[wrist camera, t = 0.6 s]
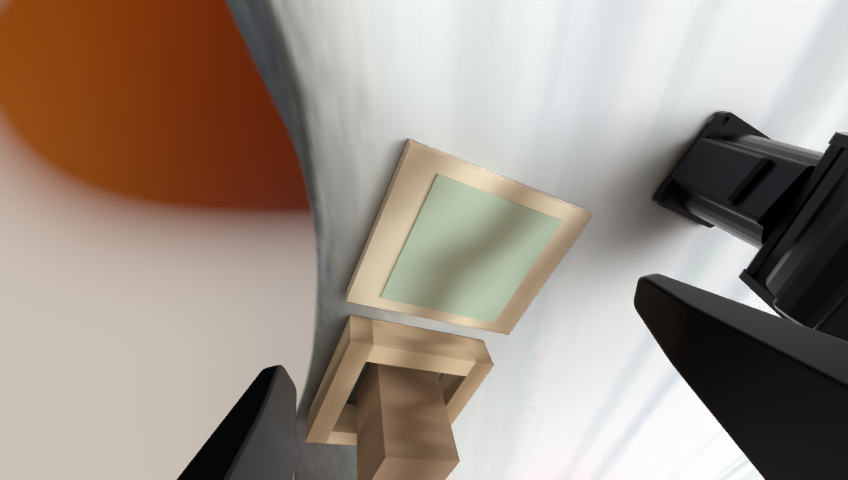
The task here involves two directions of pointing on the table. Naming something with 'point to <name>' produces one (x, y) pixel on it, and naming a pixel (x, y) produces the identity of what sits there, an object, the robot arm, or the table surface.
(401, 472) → the block
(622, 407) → the table surface
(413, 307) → the pad
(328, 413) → the pocket
